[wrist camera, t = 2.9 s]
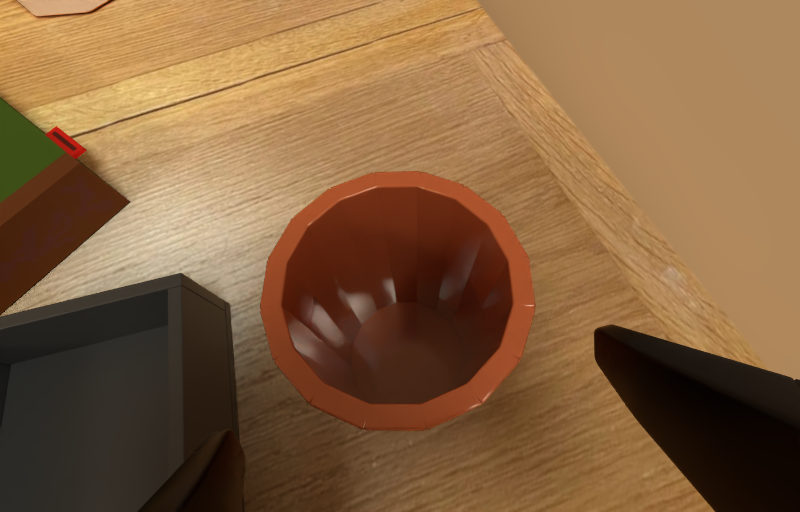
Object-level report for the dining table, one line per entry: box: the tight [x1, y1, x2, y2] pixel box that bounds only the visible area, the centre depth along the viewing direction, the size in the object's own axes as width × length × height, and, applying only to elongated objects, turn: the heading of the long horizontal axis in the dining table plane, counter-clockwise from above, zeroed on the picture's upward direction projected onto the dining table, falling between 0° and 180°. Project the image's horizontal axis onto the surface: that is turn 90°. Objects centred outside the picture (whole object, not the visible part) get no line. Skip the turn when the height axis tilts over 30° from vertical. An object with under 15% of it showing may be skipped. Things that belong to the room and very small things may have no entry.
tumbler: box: [260, 171, 536, 431], centre depth 14 cm, size 6×6×11 cm
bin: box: [0, 273, 244, 512], centre depth 15 cm, size 14×11×5 cm
